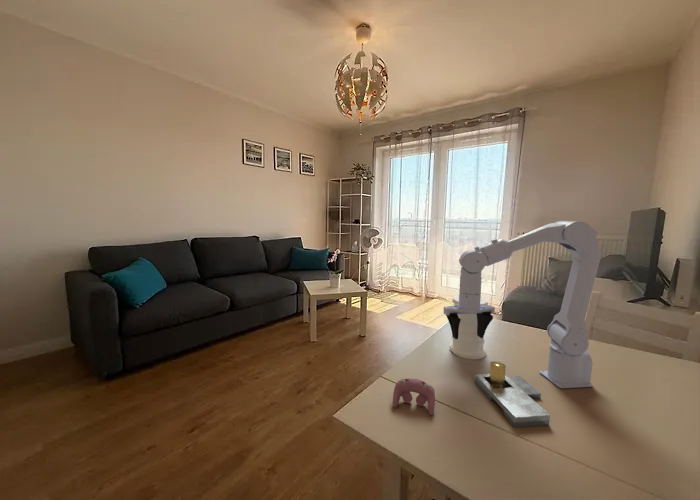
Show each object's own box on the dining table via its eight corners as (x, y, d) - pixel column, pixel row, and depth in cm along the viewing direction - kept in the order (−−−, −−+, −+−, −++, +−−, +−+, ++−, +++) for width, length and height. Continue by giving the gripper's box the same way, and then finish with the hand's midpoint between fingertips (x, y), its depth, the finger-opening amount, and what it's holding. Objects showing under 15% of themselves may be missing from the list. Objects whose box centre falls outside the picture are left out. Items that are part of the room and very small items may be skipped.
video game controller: (434, 413, 70) (436, 382, 73) (434, 416, 66) (435, 383, 68) (393, 405, 74) (396, 375, 76) (390, 407, 69) (393, 376, 72)
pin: (500, 385, 79) (501, 361, 78) (506, 394, 75) (508, 368, 74) (486, 385, 79) (487, 361, 78) (492, 393, 75) (493, 368, 74)
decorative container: (488, 348, 101) (491, 297, 98) (483, 362, 91) (486, 306, 89) (453, 340, 107) (455, 292, 104) (445, 353, 97) (447, 300, 95)
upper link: (502, 381, 81) (503, 372, 81) (549, 425, 64) (550, 415, 64) (474, 382, 80) (475, 374, 80) (514, 427, 64) (515, 417, 63)
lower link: (519, 380, 82) (519, 376, 81) (540, 398, 74) (540, 393, 73) (474, 382, 80) (474, 378, 80) (491, 401, 72) (491, 396, 72)
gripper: (486, 288, 89) (483, 330, 91) (440, 289, 88) (438, 332, 89) (500, 294, 82) (497, 340, 84) (450, 295, 81) (448, 342, 82)
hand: (467, 337), depth 86 cm, fingers open, 7 cm apart
